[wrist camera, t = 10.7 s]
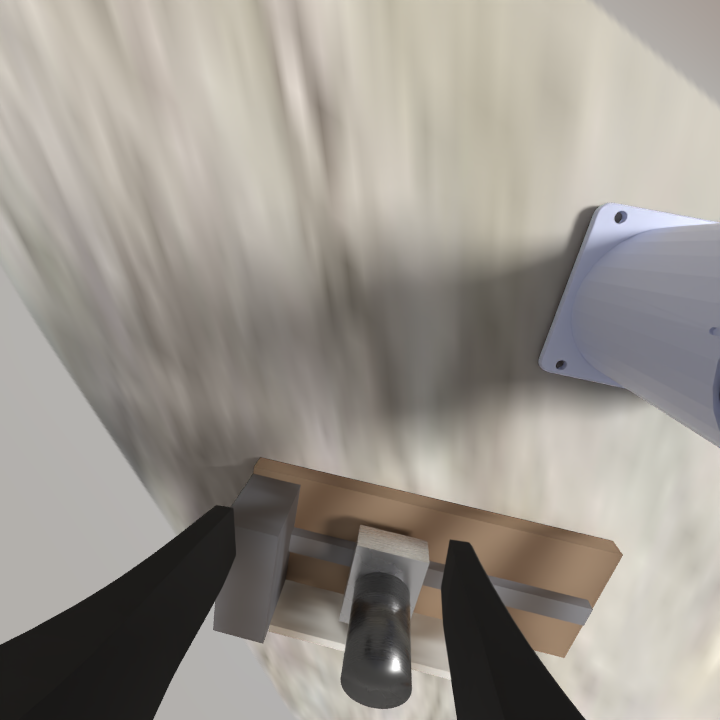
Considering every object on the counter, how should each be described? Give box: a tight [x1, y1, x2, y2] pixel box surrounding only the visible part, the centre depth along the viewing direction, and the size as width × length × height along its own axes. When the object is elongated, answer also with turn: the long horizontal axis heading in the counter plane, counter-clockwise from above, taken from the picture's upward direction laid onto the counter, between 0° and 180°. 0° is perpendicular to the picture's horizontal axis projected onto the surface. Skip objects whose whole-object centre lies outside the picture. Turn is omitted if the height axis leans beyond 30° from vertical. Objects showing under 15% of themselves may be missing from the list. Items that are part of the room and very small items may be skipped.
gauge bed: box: [213, 457, 623, 680], centre depth 21 cm, size 22×9×5 cm, turn 80°
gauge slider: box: [339, 525, 429, 709], centre depth 19 cm, size 4×8×6 cm, turn 169°
